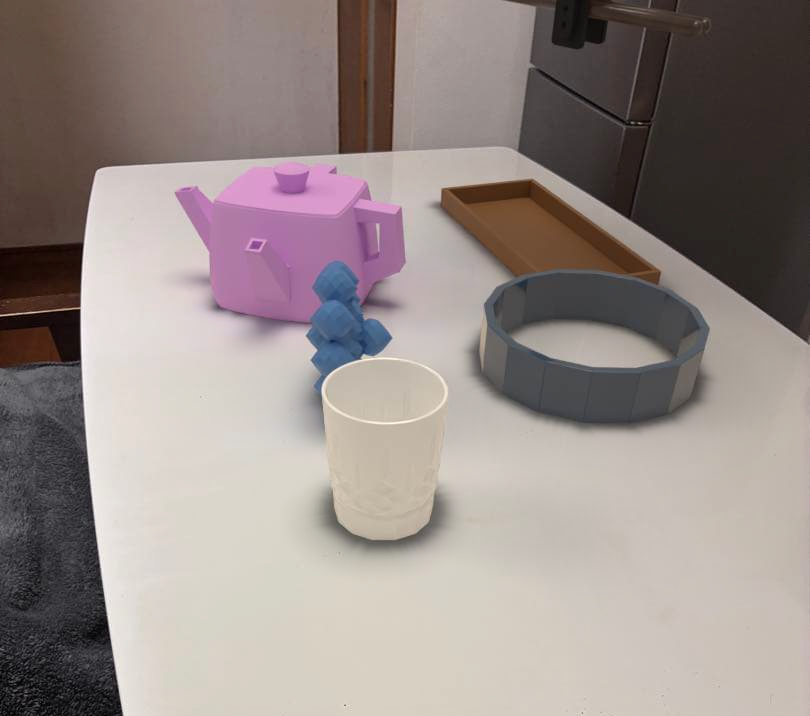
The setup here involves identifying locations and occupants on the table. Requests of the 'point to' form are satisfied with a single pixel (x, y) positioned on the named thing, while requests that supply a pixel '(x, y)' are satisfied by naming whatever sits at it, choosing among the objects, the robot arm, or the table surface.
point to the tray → (539, 230)
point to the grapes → (341, 323)
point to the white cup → (384, 444)
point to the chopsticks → (637, 16)
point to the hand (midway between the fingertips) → (578, 41)
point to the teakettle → (292, 237)
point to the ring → (579, 384)
